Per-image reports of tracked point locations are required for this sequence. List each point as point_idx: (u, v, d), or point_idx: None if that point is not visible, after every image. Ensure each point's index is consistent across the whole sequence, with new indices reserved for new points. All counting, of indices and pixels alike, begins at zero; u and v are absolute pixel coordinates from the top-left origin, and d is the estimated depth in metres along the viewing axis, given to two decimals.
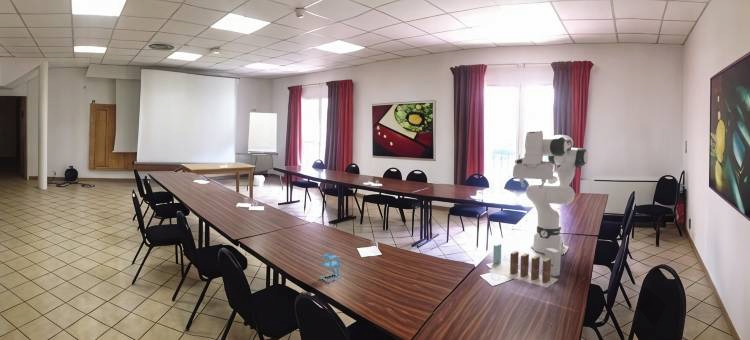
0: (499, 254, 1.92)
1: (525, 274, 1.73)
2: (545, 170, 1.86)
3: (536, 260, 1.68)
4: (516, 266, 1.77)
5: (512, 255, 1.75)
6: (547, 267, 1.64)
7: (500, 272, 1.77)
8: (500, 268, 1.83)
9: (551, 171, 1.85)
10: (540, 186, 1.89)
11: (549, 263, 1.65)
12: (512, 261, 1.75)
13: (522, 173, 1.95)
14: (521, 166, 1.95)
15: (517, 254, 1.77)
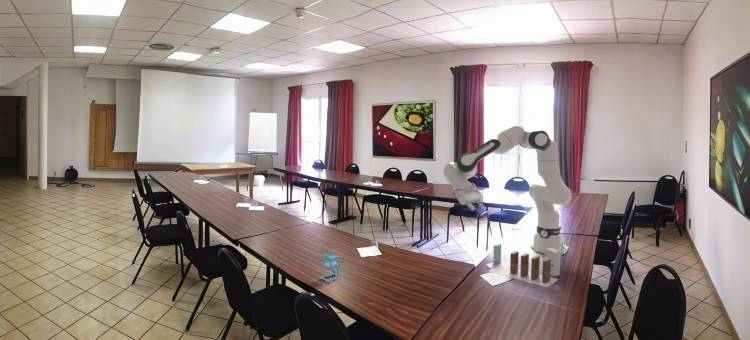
0: (499, 254, 1.92)
1: (525, 274, 1.73)
2: None
3: (536, 260, 1.68)
4: (516, 266, 1.77)
5: (512, 255, 1.75)
6: (547, 267, 1.64)
7: (500, 272, 1.77)
8: (500, 268, 1.83)
9: (458, 197, 1.95)
10: None
11: (549, 263, 1.65)
12: (512, 261, 1.75)
13: None
14: None
15: (517, 254, 1.77)
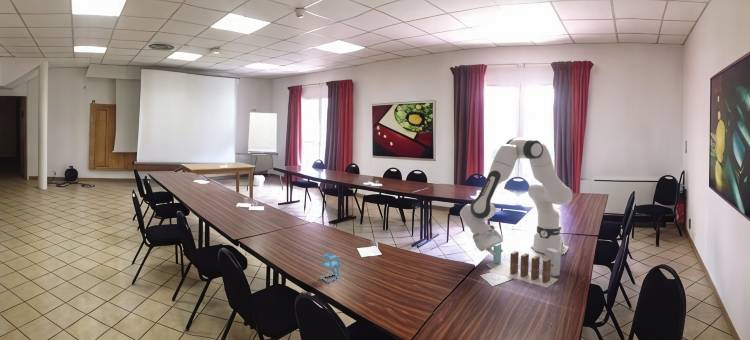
0: (499, 254, 1.92)
1: (525, 274, 1.73)
2: None
3: (536, 260, 1.68)
4: (516, 266, 1.77)
5: (512, 255, 1.75)
6: (547, 267, 1.64)
7: (500, 272, 1.77)
8: (500, 268, 1.83)
9: (477, 244, 1.89)
10: None
11: (549, 263, 1.65)
12: (512, 261, 1.75)
13: None
14: None
15: (517, 254, 1.77)
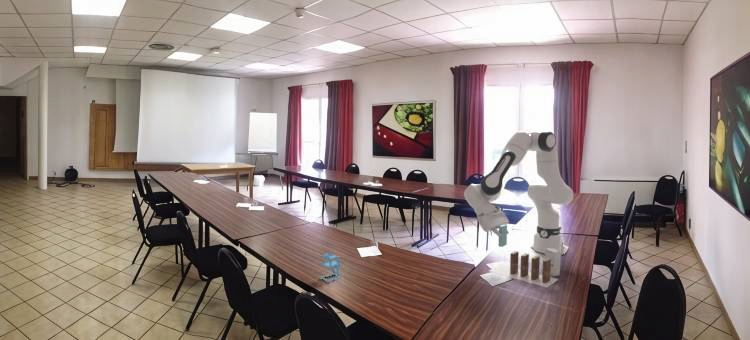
0: (505, 235, 1.81)
1: (525, 274, 1.73)
2: None
3: (536, 260, 1.68)
4: (516, 266, 1.77)
5: (512, 255, 1.75)
6: (547, 267, 1.64)
7: (500, 272, 1.77)
8: (500, 268, 1.83)
9: (481, 224, 1.78)
10: None
11: (549, 263, 1.65)
12: (512, 261, 1.75)
13: None
14: None
15: (517, 254, 1.77)
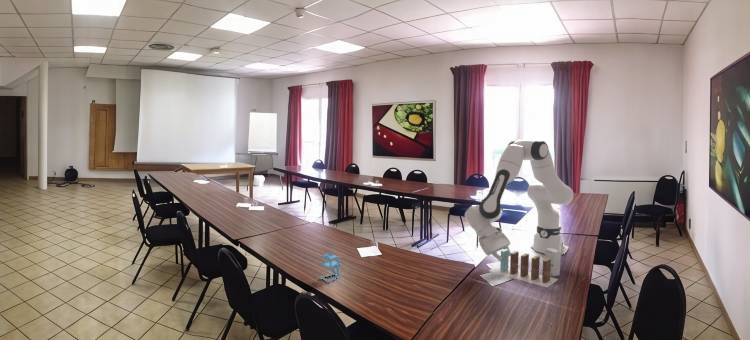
0: (506, 260, 1.80)
1: (525, 274, 1.73)
2: None
3: (536, 260, 1.68)
4: (516, 266, 1.77)
5: (512, 255, 1.75)
6: (547, 267, 1.64)
7: (500, 272, 1.77)
8: None
9: (483, 247, 1.77)
10: None
11: (549, 263, 1.65)
12: (512, 261, 1.75)
13: None
14: None
15: (517, 254, 1.77)
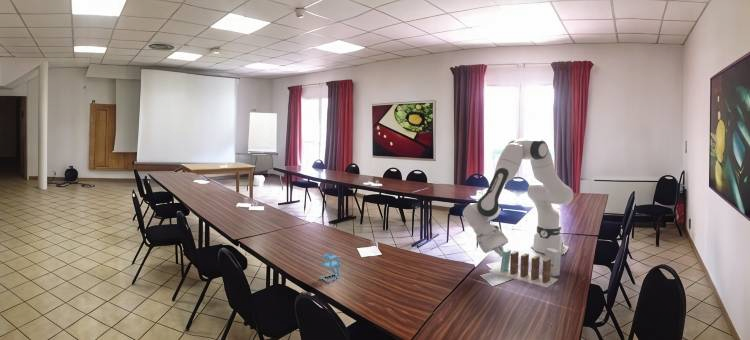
0: (507, 260, 1.80)
1: (525, 274, 1.73)
2: None
3: (536, 260, 1.68)
4: (516, 266, 1.77)
5: (512, 255, 1.75)
6: (547, 267, 1.64)
7: (500, 272, 1.77)
8: (500, 268, 1.83)
9: (481, 245, 1.78)
10: None
11: (549, 263, 1.65)
12: (512, 261, 1.75)
13: None
14: None
15: (517, 254, 1.77)
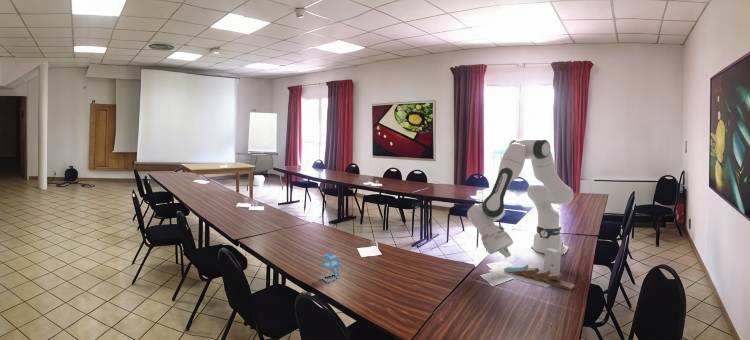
0: None
1: None
2: None
3: None
4: None
5: (532, 272, 1.68)
6: None
7: (500, 272, 1.77)
8: (500, 268, 1.83)
9: (486, 246, 1.76)
10: None
11: None
12: (526, 272, 1.70)
13: None
14: None
15: None
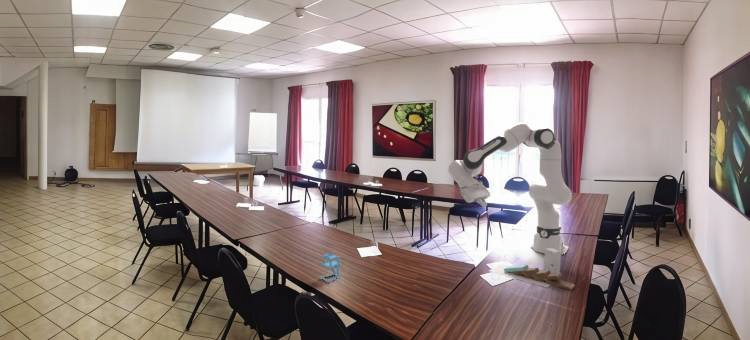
0: None
1: None
2: None
3: None
4: None
5: (532, 272, 1.68)
6: None
7: (500, 272, 1.77)
8: (500, 268, 1.83)
9: (464, 195, 1.92)
10: None
11: None
12: (526, 272, 1.70)
13: None
14: None
15: None
